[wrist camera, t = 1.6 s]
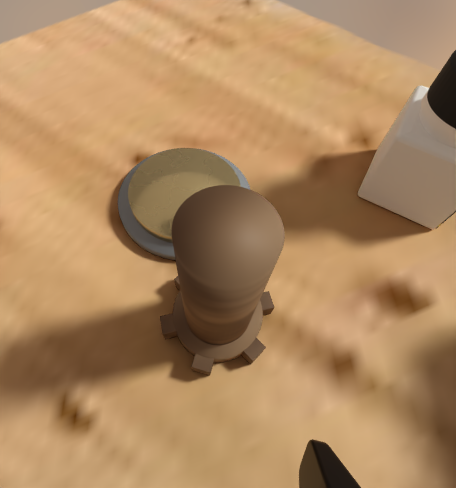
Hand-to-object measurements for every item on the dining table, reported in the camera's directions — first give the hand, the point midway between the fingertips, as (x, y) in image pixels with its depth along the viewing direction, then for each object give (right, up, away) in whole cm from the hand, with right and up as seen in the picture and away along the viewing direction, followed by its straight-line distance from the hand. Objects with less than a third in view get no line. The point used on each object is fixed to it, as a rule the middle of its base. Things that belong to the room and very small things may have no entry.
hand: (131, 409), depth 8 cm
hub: (-1, +8, +20) cm, 21 cm away
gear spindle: (+2, -1, +15) cm, 15 cm away
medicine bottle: (+19, +9, +22) cm, 30 cm away
